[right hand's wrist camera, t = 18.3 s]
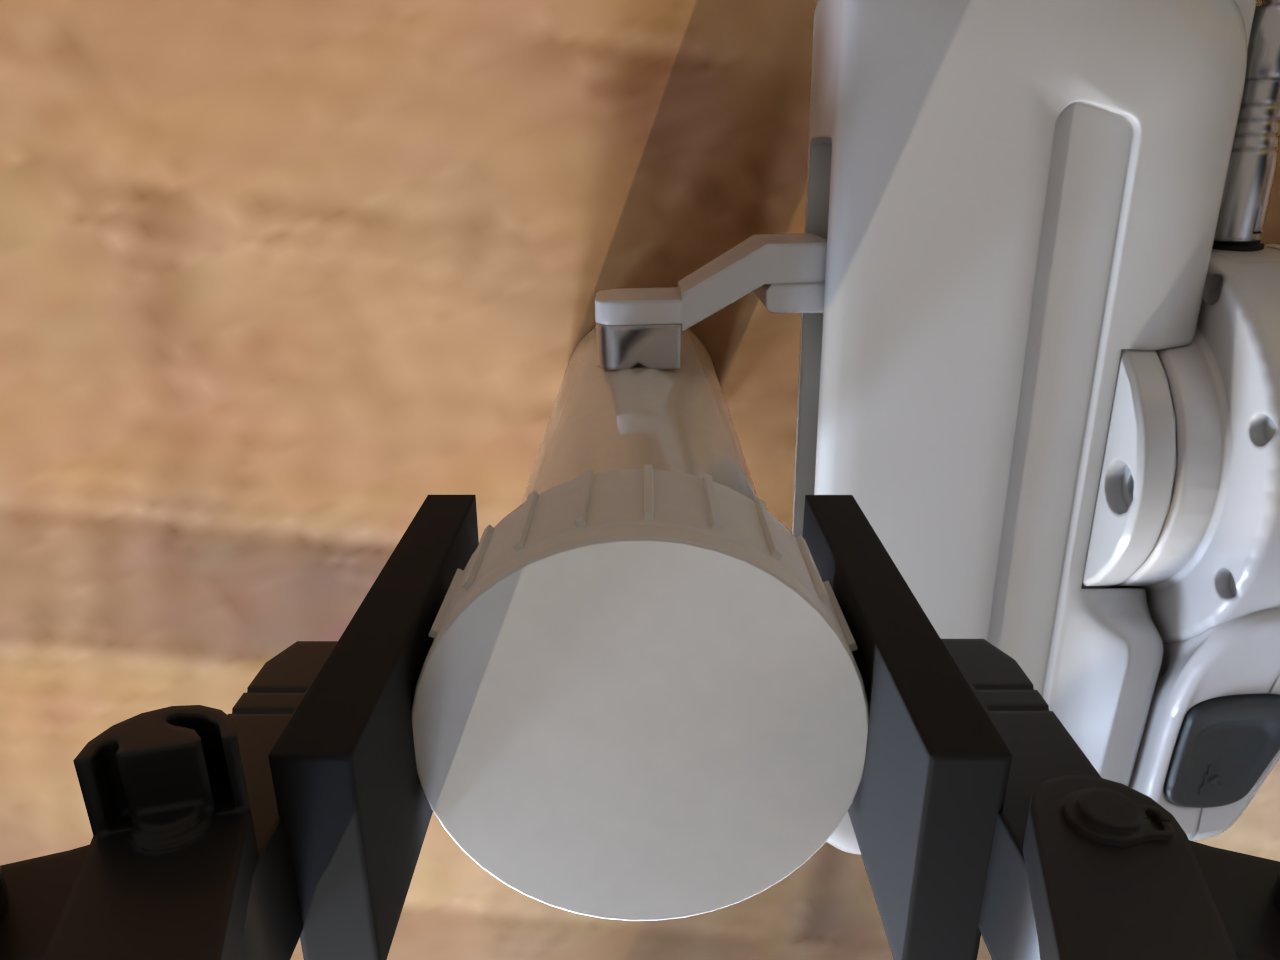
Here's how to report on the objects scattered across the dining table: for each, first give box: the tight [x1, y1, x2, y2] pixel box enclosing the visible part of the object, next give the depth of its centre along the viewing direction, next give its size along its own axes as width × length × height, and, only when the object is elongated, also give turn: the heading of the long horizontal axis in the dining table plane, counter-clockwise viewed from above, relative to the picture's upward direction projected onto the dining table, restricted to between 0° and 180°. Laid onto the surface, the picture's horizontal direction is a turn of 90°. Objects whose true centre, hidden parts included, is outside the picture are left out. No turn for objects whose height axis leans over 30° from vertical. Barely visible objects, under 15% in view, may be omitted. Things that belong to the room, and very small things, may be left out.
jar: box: [521, 327, 758, 505], centre depth 19 cm, size 4×4×16 cm
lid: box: [412, 464, 869, 921], centre depth 11 cm, size 6×6×2 cm
